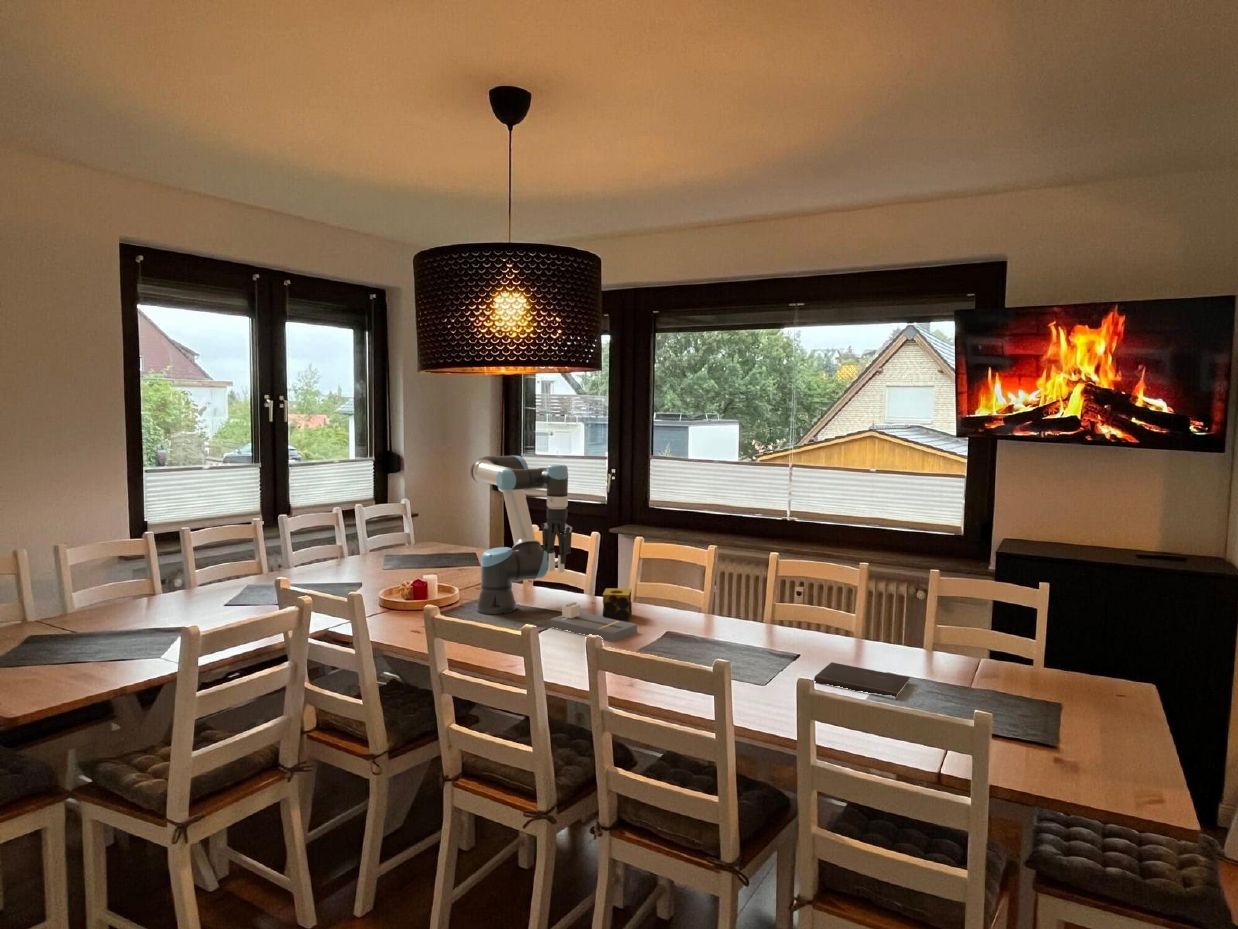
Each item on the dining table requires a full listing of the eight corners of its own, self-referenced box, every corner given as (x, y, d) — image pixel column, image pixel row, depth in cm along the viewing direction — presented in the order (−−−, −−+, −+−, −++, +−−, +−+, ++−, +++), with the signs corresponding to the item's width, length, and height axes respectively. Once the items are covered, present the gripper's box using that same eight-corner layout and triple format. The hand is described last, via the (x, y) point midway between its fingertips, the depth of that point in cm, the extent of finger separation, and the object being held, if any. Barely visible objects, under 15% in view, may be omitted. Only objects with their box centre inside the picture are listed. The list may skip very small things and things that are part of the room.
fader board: (549, 627, 274) (549, 618, 274) (574, 619, 285) (574, 610, 285) (613, 642, 258) (613, 633, 257) (637, 632, 269) (637, 624, 269)
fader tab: (562, 616, 276) (562, 604, 276) (571, 613, 280) (571, 601, 280) (570, 618, 274) (571, 605, 273) (579, 615, 278) (579, 603, 277)
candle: (631, 614, 293) (632, 588, 292) (629, 621, 283) (630, 595, 282) (605, 613, 294) (605, 587, 293) (602, 620, 284) (602, 594, 283)
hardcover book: (831, 669, 236) (831, 662, 236) (909, 685, 223) (909, 677, 223) (813, 684, 222) (814, 676, 222) (896, 702, 210) (896, 693, 210)
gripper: (532, 506, 280) (532, 570, 282) (568, 510, 270) (567, 576, 272) (546, 504, 286) (545, 566, 288) (581, 508, 276) (581, 573, 278)
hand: (556, 571), depth 280 cm, fingers open, 4 cm apart
